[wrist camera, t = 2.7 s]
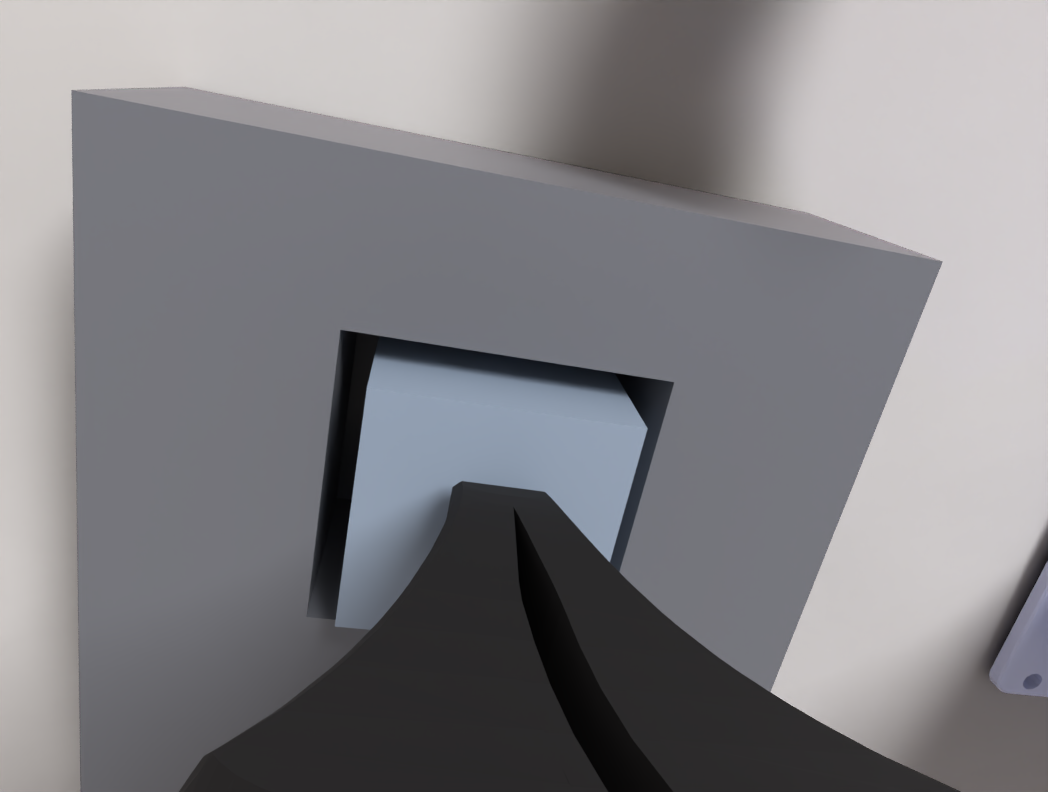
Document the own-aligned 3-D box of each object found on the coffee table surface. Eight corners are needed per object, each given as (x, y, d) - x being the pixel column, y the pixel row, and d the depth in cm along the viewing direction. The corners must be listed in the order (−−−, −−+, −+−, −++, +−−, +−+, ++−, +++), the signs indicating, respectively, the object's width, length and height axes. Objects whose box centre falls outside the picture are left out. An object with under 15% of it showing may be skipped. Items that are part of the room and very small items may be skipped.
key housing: (808, 212, 15) (942, 262, 11) (556, 977, 24) (580, 1164, 20) (185, 86, 13) (71, 89, 9) (152, 969, 22) (85, 1175, 18)
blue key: (606, 358, 14) (647, 428, 11) (558, 546, 15) (584, 649, 12) (382, 322, 13) (366, 387, 10) (354, 522, 15) (334, 626, 12)
